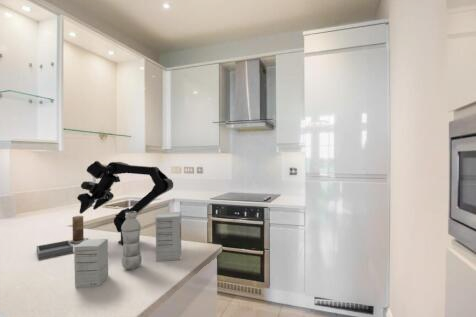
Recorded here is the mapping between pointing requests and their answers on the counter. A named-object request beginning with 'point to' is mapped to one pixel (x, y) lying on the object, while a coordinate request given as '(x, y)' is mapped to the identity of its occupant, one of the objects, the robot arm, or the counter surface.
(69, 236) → the counter surface
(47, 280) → the counter surface
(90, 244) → the supplement box
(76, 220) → the scraper handle
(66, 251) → the tray
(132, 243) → the plastic bottle
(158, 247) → the supplement box
